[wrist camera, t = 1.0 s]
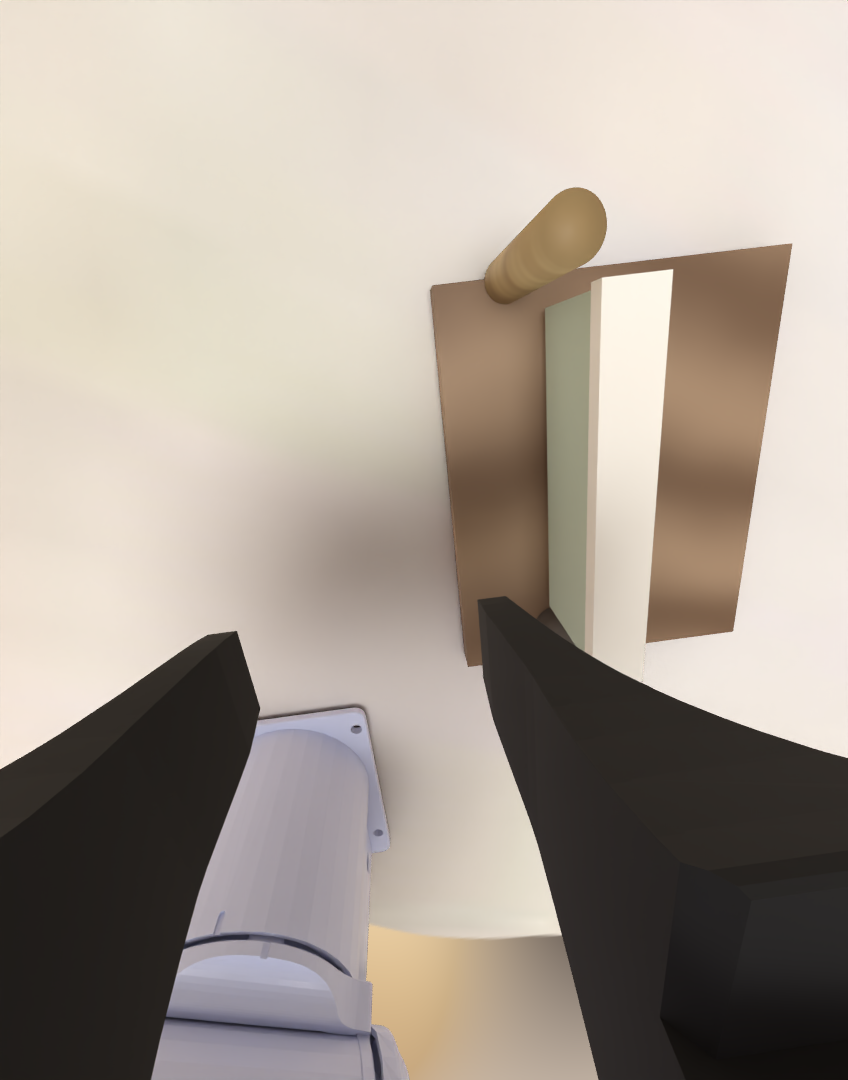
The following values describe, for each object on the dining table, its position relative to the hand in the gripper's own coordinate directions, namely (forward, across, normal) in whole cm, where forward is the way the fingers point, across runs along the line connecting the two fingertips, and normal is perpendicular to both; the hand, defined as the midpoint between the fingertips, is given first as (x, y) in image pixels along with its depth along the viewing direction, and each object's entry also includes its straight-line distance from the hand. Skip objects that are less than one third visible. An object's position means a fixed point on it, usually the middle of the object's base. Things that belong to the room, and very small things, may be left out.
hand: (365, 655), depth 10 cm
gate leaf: (+8, -7, -1) cm, 11 cm away
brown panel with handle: (+9, -9, -1) cm, 13 cm away
